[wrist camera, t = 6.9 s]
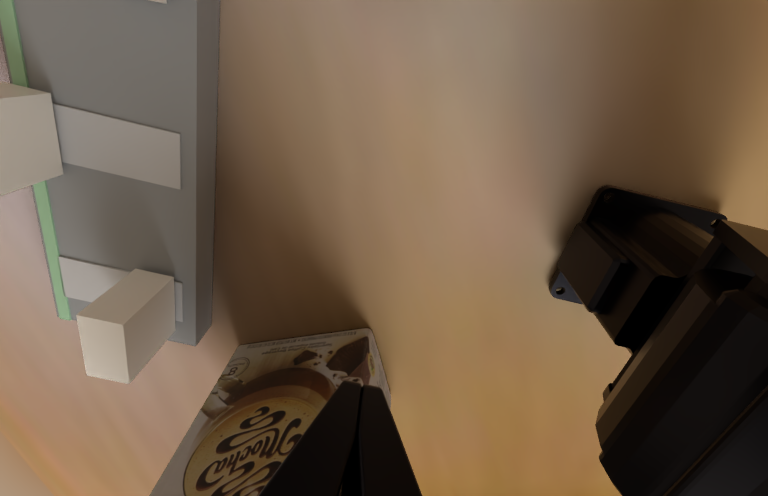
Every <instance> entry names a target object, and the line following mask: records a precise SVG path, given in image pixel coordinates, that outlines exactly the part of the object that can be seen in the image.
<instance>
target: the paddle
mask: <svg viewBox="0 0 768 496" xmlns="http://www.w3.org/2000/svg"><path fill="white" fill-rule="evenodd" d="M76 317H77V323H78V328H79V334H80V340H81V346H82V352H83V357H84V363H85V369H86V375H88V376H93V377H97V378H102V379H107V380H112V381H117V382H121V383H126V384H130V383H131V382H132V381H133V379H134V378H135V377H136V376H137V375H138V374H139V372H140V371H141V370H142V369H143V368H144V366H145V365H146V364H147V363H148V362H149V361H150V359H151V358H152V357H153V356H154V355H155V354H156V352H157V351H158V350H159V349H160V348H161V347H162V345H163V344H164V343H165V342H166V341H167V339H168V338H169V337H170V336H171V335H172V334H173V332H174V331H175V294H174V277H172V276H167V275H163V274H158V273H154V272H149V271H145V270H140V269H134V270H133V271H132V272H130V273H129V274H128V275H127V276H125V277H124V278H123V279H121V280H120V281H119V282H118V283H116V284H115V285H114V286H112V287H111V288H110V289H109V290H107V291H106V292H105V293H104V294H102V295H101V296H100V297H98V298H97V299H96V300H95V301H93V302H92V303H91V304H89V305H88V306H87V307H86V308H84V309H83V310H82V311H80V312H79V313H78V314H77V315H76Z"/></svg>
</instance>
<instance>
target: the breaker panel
mask: <svg viewBox="0 0 768 496" xmlns="http://www.w3.org/2000/svg"><path fill="white" fill-rule="evenodd" d="M219 27H220V0H167V4H164V3H160V2H155V1H150V0H0V34H1V39H2V43H3V48H4V53H5V58H6V63H7V68H8V73H9V78H10V83H11V84H15V85H19V86H23V87H27V88H31V89H35V90H40V91H44V92H48V93H51V99H52V105H53V111H54V118H55V124H56V130H57V136H58V143H59V149H60V155H61V162H62V168H63V175H60V176H57V177H54V178H51V179H48V180H45V181H42V182H39V183H37V184H34V185H31V187H32V192H33V197H34V202H35V207H36V212H37V217H38V222H39V227H40V232H41V237H42V242H43V247H44V252H45V257H46V262H47V267H48V272H49V277H50V282H51V287H52V291H53V296H54V301H55V306H56V311H57V316H58V317H59V318H60V319H65V320H76V321H77V317H76V315H77V314H78V313H79V312H80V311H82V310H83V309H84V308H86V307H87V306H88V305H89V304H91V303H92V302H93V301H95V300H96V299H97V298H98V297H100V296H101V295H102V294H104V293H105V292H106V291H107V290H109V289H110V288H111V287H112V286H114V285H115V284H116V283H118V282H119V281H120V280H121V279H123V278H124V277H125V276H127V275H128V274H129V273H130V272H132V271H133V270H134V269H140V270H145V271H149V272H154V273H158V274H163V275H167V276H172V277H174V294H175V331H174V332H173V334H172V335H171V336H170V337H169V338H168V339H167V340H169V341H174V342H178V343H183V344H187V345H192V346H196V345H197V344H198V343H199V341H200V340H201V338H202V337H203V336H204V334H205V333H206V332H207V330H208V329H209V328H210V326H211V323H212V286H213V249H214V212H215V175H216V138H217V101H218V64H219Z"/></svg>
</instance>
